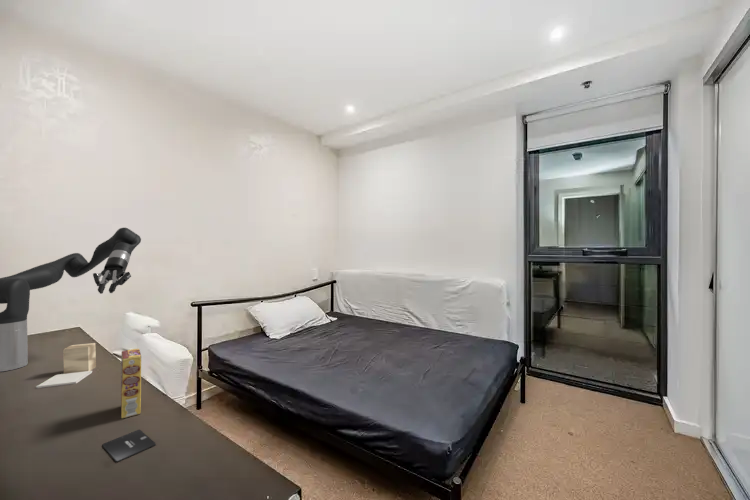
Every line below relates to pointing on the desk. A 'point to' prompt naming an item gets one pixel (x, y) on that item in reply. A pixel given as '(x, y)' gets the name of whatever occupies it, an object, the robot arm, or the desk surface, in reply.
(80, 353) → the maple block
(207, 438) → the desk surface
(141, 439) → the solid state drive
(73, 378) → the mat
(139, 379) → the candy box
